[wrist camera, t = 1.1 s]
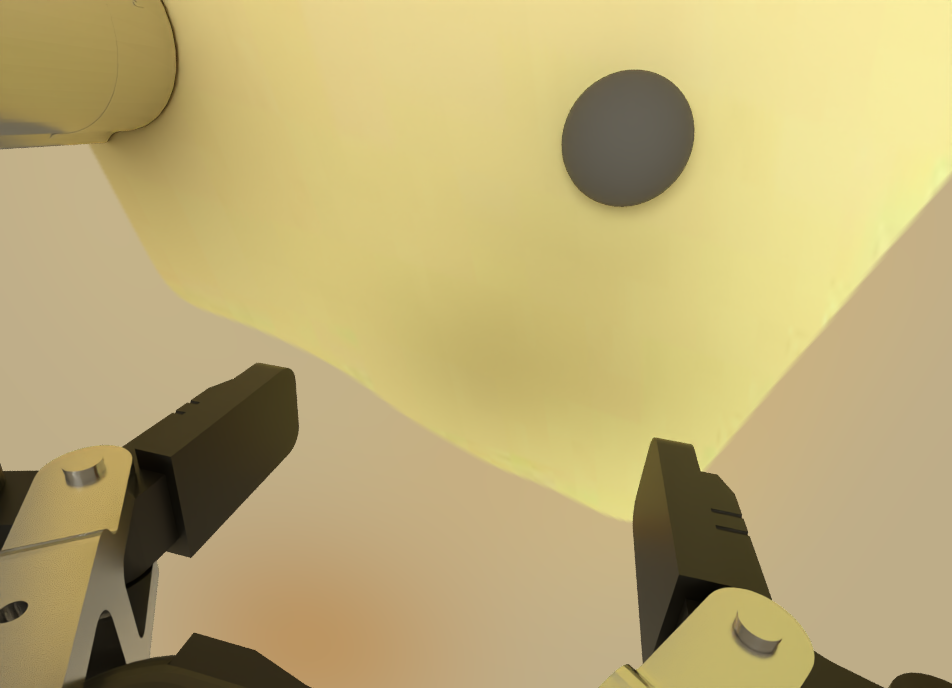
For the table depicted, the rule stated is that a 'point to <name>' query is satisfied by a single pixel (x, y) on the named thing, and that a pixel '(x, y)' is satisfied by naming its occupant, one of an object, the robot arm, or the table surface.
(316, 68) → the table surface
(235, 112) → the table surface
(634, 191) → the dark gray ball
